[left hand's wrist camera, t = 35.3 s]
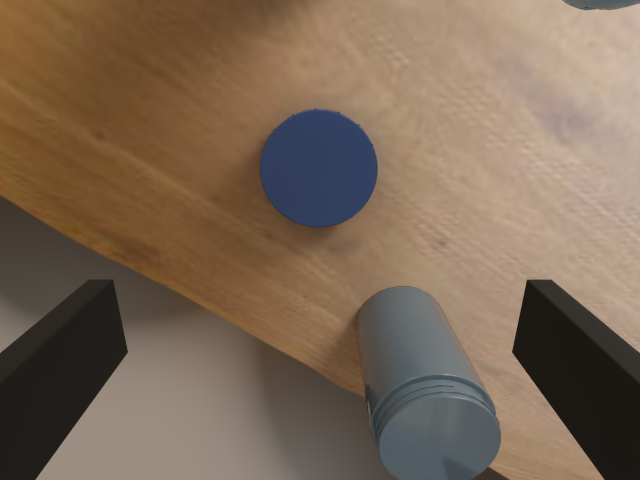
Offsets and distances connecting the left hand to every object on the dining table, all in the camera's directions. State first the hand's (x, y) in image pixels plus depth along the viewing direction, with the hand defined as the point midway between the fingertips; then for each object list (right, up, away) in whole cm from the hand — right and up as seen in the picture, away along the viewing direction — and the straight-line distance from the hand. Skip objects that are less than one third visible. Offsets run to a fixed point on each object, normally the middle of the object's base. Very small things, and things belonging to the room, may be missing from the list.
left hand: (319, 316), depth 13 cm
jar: (+9, -7, +31) cm, 33 cm away
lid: (0, +9, +23) cm, 25 cm away
